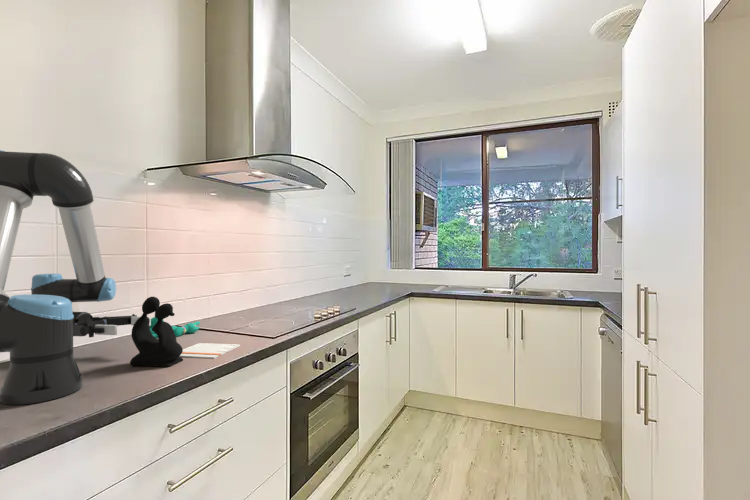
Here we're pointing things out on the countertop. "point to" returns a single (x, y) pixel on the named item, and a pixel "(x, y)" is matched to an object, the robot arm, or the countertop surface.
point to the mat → (207, 350)
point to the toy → (177, 328)
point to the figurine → (148, 346)
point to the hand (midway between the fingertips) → (133, 325)
